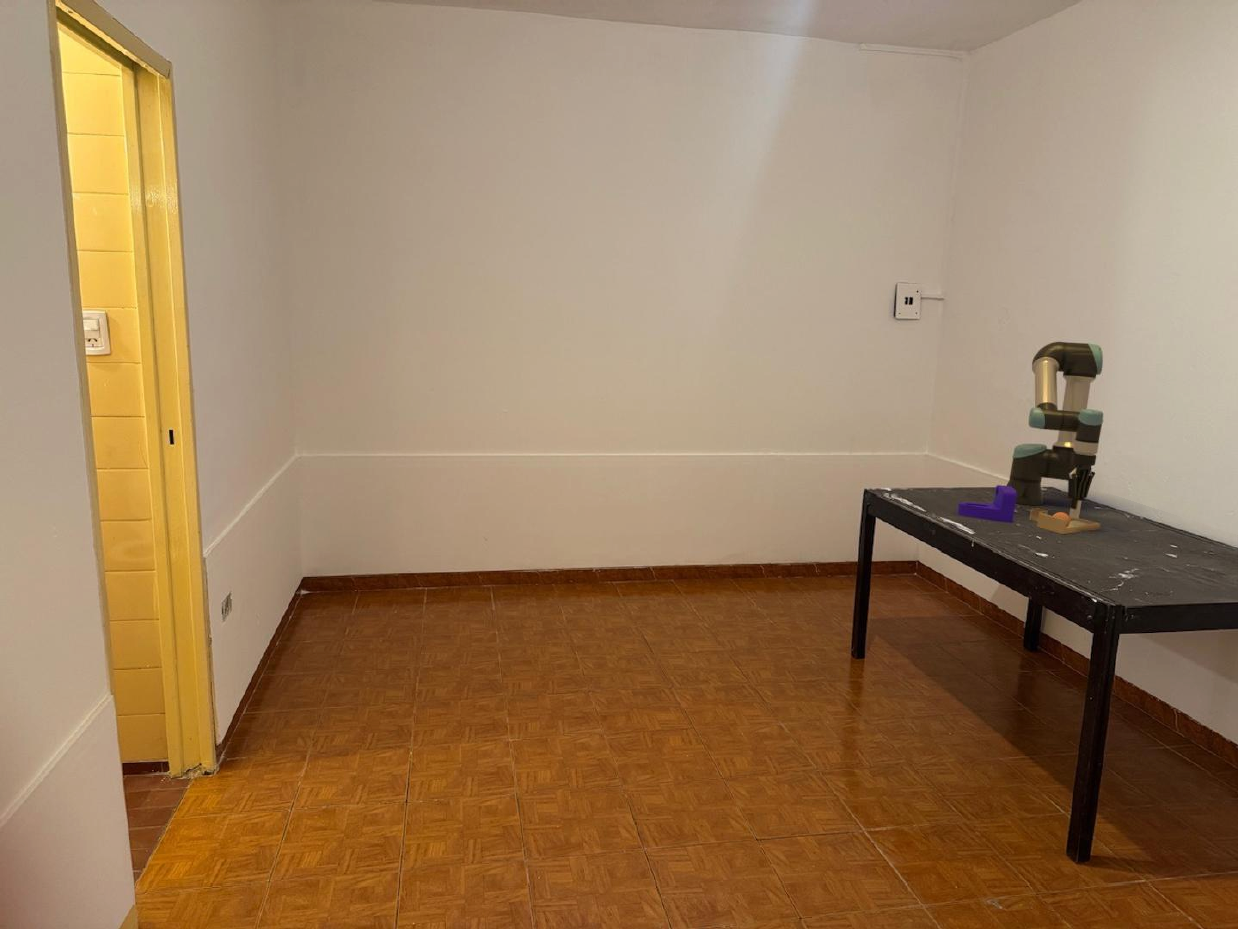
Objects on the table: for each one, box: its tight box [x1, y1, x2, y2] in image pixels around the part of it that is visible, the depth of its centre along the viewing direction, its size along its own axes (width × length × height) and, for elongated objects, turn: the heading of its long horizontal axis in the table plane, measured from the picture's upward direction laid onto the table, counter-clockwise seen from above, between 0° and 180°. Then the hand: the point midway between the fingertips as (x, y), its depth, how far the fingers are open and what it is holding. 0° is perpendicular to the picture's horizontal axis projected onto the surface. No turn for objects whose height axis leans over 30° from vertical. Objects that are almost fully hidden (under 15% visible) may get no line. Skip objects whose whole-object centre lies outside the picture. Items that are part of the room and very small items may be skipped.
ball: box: [1052, 511, 1070, 527], centre depth 307 cm, size 6×6×6 cm
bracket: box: [957, 484, 1017, 524], centre depth 319 cm, size 18×11×12 cm, turn 80°
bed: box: [1036, 513, 1101, 535], centre depth 310 cm, size 22×10×5 cm, turn 119°
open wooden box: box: [1029, 507, 1049, 523], centre depth 319 cm, size 4×4×4 cm
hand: (1073, 517), depth 311 cm, fingers closed
